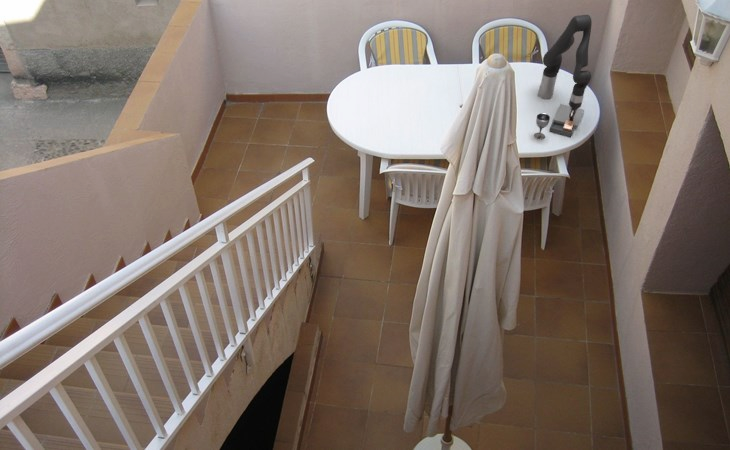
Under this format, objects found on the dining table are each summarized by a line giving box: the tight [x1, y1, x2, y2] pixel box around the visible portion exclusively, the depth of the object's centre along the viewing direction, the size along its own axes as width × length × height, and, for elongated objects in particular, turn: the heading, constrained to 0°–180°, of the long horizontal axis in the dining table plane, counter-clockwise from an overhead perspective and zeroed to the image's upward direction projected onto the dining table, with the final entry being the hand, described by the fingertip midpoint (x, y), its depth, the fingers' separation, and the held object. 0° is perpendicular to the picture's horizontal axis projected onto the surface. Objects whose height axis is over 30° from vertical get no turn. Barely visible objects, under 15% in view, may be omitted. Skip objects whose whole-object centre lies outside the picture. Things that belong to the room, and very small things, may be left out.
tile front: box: [563, 125, 572, 132], centre depth 437 cm, size 5×5×2 cm
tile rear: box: [565, 120, 574, 127], centre depth 440 cm, size 5×5×2 cm
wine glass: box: [533, 112, 551, 141], centre depth 432 cm, size 8×8×15 cm
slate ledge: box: [552, 103, 585, 130], centre depth 449 cm, size 16×19×3 cm
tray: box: [548, 119, 575, 138], centre depth 440 cm, size 14×9×4 cm, turn 65°
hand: (570, 121), depth 441 cm, fingers closed
